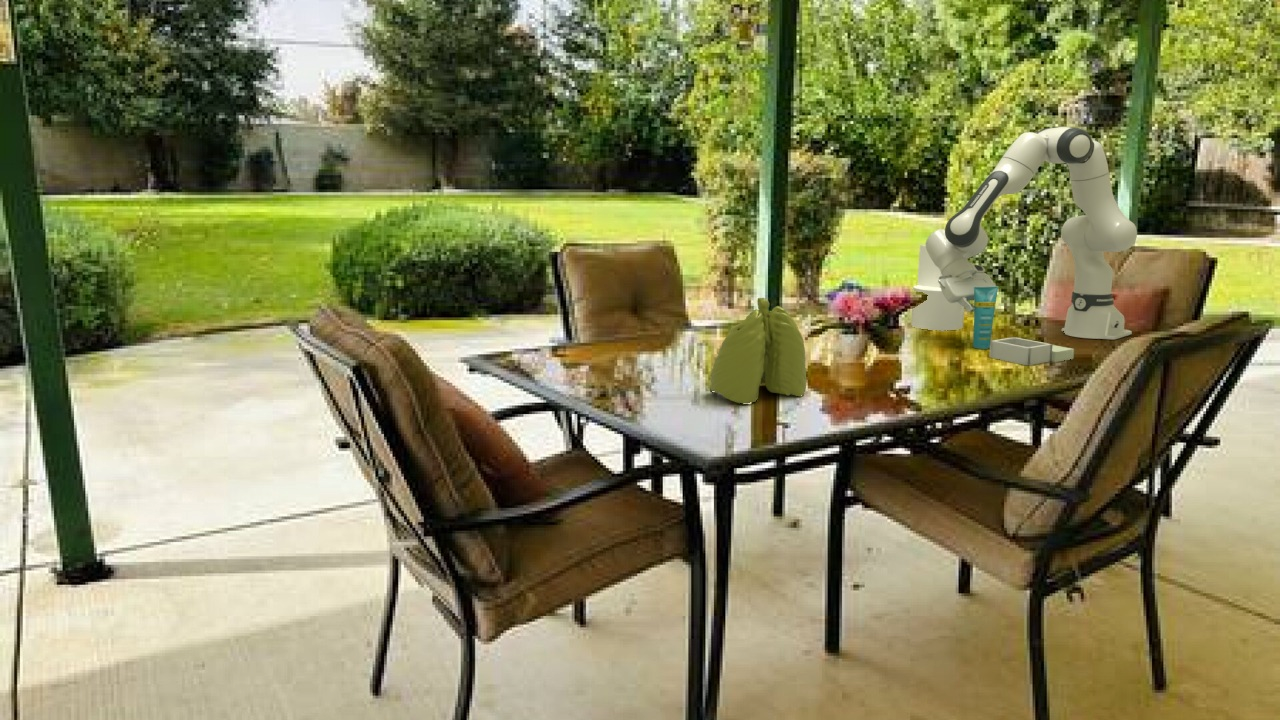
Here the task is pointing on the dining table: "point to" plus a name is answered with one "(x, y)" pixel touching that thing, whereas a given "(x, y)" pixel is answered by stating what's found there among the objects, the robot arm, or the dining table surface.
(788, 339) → the lungs
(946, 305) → the white chair
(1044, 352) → the grey open tray
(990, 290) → the tube
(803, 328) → the dining table surface
